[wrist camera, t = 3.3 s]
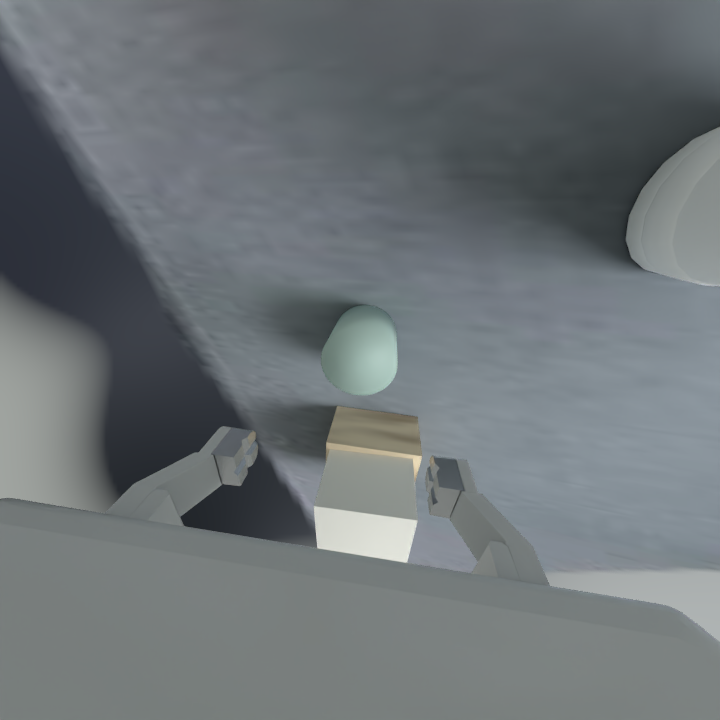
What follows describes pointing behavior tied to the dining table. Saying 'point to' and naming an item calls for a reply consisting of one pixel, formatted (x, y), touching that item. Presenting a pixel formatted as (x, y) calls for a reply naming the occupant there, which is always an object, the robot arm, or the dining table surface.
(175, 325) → the dining table surface
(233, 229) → the dining table surface
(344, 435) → the tower base
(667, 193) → the bottle
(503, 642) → the robot arm
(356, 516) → the tower top
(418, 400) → the dining table surface
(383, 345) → the pale green rounded block
